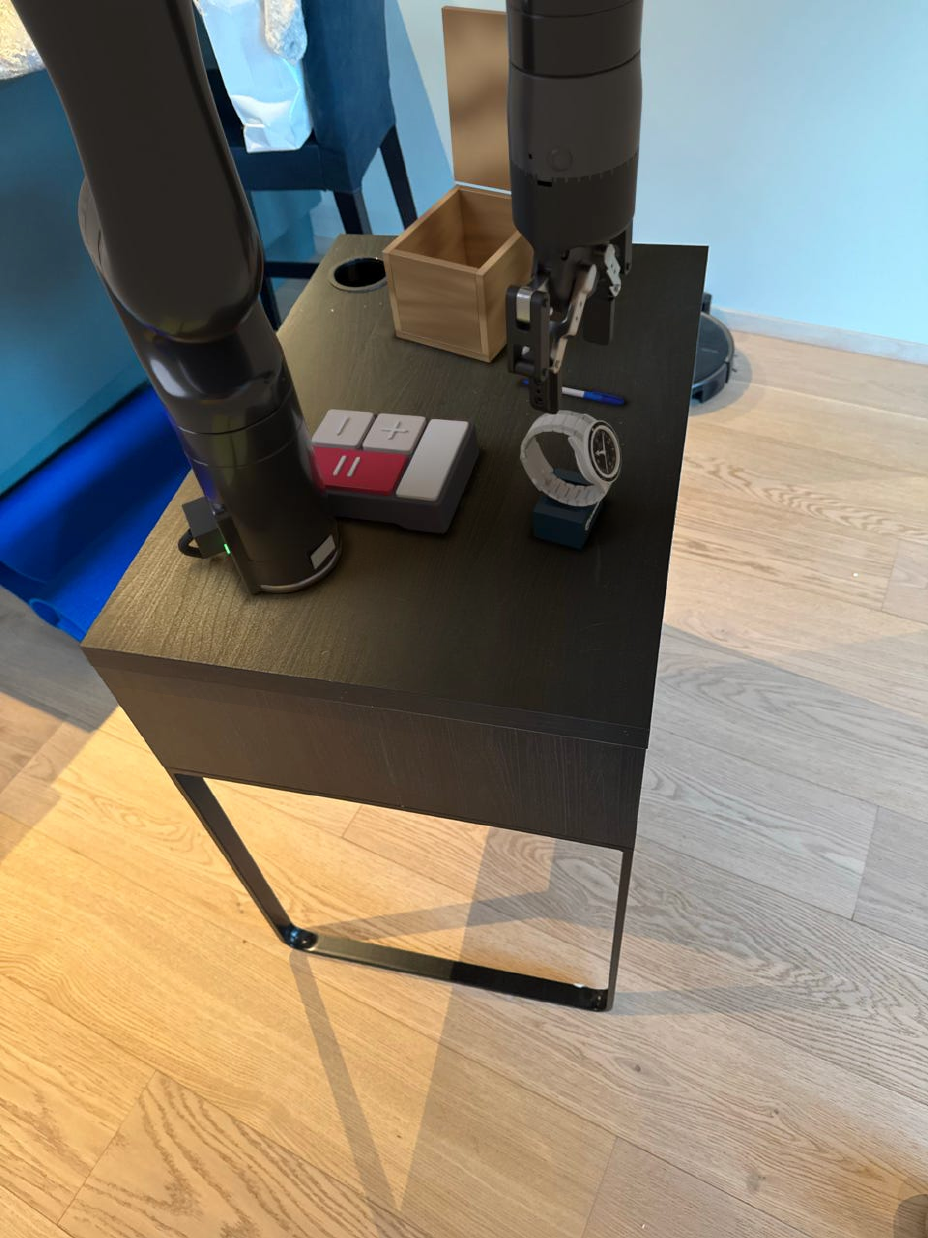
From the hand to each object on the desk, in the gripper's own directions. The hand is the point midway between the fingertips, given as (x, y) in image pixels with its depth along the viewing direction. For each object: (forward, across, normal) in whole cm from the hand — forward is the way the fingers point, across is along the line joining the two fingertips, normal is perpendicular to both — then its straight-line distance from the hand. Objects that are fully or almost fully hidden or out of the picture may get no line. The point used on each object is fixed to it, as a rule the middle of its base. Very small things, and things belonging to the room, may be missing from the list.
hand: (572, 374), depth 61 cm
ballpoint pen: (+16, -16, -7) cm, 23 cm away
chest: (+15, -24, -23) cm, 37 cm away
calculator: (+15, +3, -18) cm, 24 cm away
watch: (+15, 0, 0) cm, 15 cm away
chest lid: (-3, -32, -23) cm, 39 cm away
